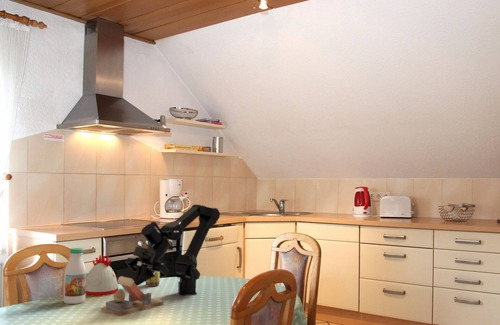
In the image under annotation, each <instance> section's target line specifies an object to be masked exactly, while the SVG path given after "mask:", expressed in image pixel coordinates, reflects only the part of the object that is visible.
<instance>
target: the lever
mask: <svg viewBox="0 0 500 325" xmlns="http://www.w3.org/2000/svg"><path fill="white" fill-rule="evenodd" d="M117 283H118V285H120V286H122V288H123V289H124V290H125V291H126V292H127V293H128V295H129V294H130V296H131V297H132V298H133V299H134V300H137V301H141V302H142V301H143V294H145V293H144V292H143V291H142V290H141V289H140V288H139V286H137V285H136V284H135V283H134V279H133V278H131V277H126V276H119V277H118V278H117Z"/></svg>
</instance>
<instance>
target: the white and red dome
mask: <svg viewBox="0 0 500 325" xmlns="http://www.w3.org/2000/svg"><path fill="white" fill-rule="evenodd" d="M112 260H113V259H109V256H108V255H107V256H106V257H105V255H101V254H100V255H99V256H98V257H95V260H94V259H92V264H93V266H92V267H91V269H90V270H89V271H88V273H86V292H85V294H86V295H85V296H89V295H93V297H102V295H105V296H110V295H111V294H112V295H114V294H115V292H116V291H119V284H118V278H117V277H116V274H115V272H114V269H112V267H111V266H110V265H111V263H112ZM112 295H111V296H112Z"/></svg>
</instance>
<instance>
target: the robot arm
mask: <svg viewBox="0 0 500 325" xmlns="http://www.w3.org/2000/svg"><path fill="white" fill-rule="evenodd" d="M219 210H220V209H219V208H217V207H209V206H205V205H203V204H198V203H197V204H196V203H195V204H193V205H191V207H190V208H189V209H188V210H186V212H184V213H183V214H181V216H179V217H178V218H177V219H175V220H173V221H170V222H168V223H166V224H164V225H162V226H161V227H160V226H159V225H158V224H157V222H156V221H151V222H150V223H149V224H147V225H145V226H144V227H142V229H141V230H140V231H141V235H142V236H143V238H144V239H145V240H146V241H147V243H148V242H149V244H153V246H152V247H148V246H147V247H146V248H145V247H140V246H135V248H134V251H133V254H132V255H133V256H134V257H131V256H130V257H127V258H126V260H125V262H124V263H125V264H126V265H127V266H128V268H129V269H130V270H131V271H133V272H134V273H135V276H134V279H133V282H134V283H135V284H136V285H137V287H139V286H140V285H141V284H143V283H146V282H145V281H146V280H148V279H150V278H152V277H155V275H154V274H155V273H156V272H157V271H158V272H160V278H165V279H166V278H167V277H168V276H169V274H170V270H169V268H168V267H167V266H166V265H165V263H164V260H165V259H164V258H163V257H164V256H165V255H166V253H167V251H169V250H170V251H174V246H173V242H170V241H178V240H179V239H180V237H182V235H183V234H184V230H185V229H186V228H187V227H188V226H189V225H190V224H192V223H193V222H194V221H195V220H196V219H197V218H198V223H199V224H198V225H197V228H196V230H195V232H194V235H193V236H192V239H191V241H190V243H189V245H188V246H187V247H188V248H187V249H186V251H185V252H184V254H181V253H180V254H179V255H177V256H178V257H177V259H176V261H175V262H174V271H175V276H176V278H178V279H179V281H178V284H177V285H178V286H177V288H178V289H177V291H178V293H179V294H180V295H181V296H189V295H197V294H198V293H197V292H196V291H197V289H196V288H197V281H198V279H200V277H201V273H200V271H199V270H198V269H197V266H198V260H197V259H198V258H197V257H198V255H199V252H200V250H201V249H202V246H203V244H204V242H205V240H206V238H207V235H208V232H209V231H210V229H211V228H212V227H214V225H216V224H217V222H218V220H219V218H220V216H221V213H220V211H219ZM135 256H136V257H137V258H135ZM139 260H140V261H139Z"/></svg>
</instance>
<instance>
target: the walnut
mask: <svg viewBox="0 0 500 325" xmlns="http://www.w3.org/2000/svg"><path fill="white" fill-rule="evenodd" d="M125 298H126V293H125V291H123V290H121V289H120V290H119V289H118V291H116V292H115V294H113V300H115V301H116V302H122V301H123V300H126V299H125Z"/></svg>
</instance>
